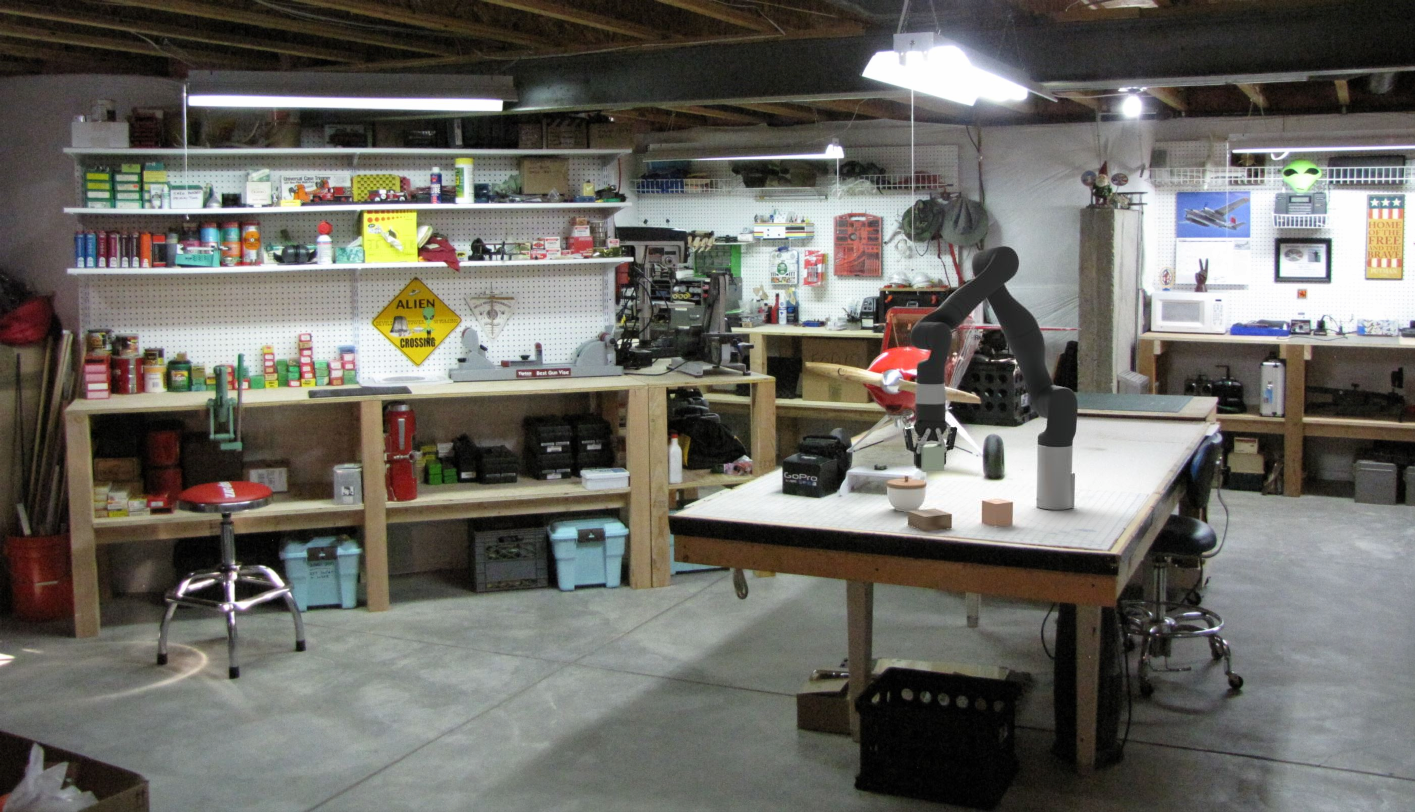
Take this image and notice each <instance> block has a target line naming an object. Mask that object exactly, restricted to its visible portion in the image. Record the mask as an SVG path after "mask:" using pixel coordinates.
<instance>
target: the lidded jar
mask: <svg viewBox="0 0 1415 812" xmlns="http://www.w3.org/2000/svg"><path fill="white" fill-rule="evenodd" d="M886 492H887V493H886V494H887V500H888V502H889V503H890V505H891V506H892V508H894V510H895V509H896V510H898V511H897V512H900V511H904V513H908V511H914V510H919V509H920V508H921V507H922V505H923V504H924V502H925V499H926V495H927V494H926V493H927V481H925V480H922V479H917V478H909V475H904V478H893V479H889V480H886ZM896 510H895V511H896Z"/></svg>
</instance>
